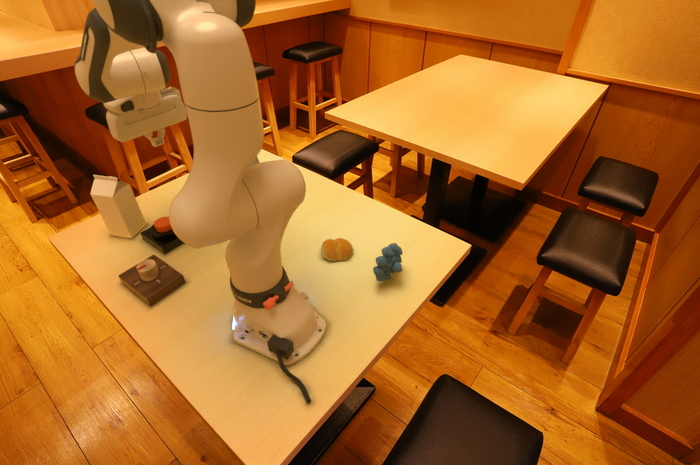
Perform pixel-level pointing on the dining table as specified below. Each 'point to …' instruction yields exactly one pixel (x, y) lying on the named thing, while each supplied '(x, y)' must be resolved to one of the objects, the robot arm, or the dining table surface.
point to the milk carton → (117, 206)
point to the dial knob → (148, 270)
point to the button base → (161, 239)
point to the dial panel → (153, 282)
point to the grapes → (388, 262)
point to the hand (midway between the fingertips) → (158, 144)
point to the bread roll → (336, 249)
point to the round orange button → (162, 224)
